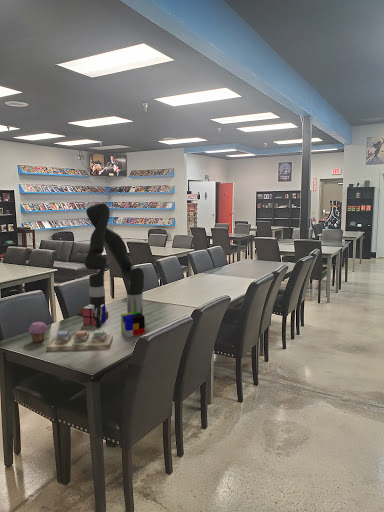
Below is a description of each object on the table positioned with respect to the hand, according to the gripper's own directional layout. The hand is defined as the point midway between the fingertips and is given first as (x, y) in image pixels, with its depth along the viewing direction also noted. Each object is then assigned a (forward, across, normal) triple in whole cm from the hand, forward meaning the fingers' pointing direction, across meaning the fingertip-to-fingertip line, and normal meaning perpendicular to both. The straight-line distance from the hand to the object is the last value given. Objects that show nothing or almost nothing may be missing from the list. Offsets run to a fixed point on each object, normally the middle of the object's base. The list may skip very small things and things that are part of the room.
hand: (98, 327), depth 195 cm
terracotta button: (+4, 0, +9) cm, 10 cm away
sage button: (+4, 0, 0) cm, 4 cm away
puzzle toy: (+8, +14, -16) cm, 23 cm away
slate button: (+4, 0, +18) cm, 18 cm away
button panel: (+8, -2, +9) cm, 12 cm away
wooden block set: (+9, +46, +12) cm, 49 cm away
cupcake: (+8, +5, +32) cm, 33 cm away
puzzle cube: (+8, +32, +8) cm, 34 cm away
